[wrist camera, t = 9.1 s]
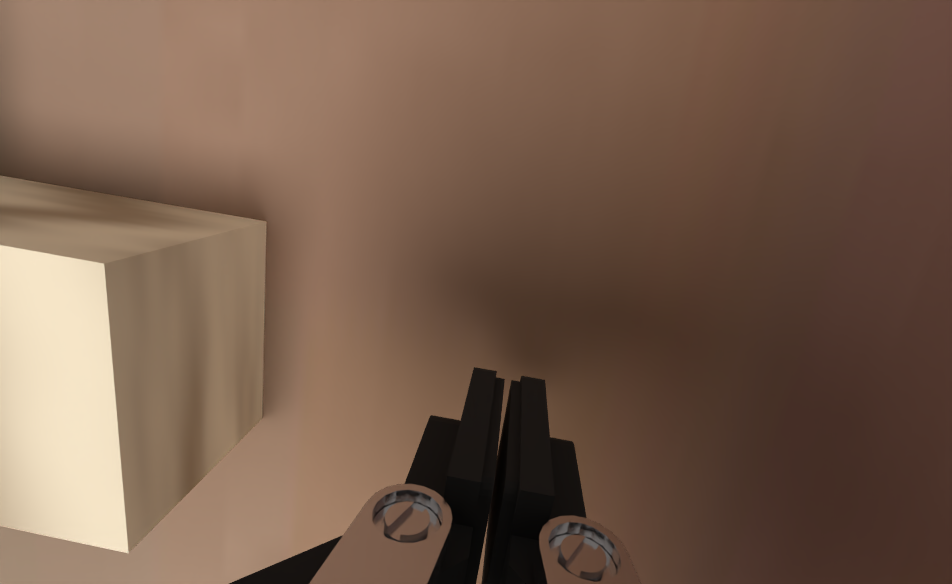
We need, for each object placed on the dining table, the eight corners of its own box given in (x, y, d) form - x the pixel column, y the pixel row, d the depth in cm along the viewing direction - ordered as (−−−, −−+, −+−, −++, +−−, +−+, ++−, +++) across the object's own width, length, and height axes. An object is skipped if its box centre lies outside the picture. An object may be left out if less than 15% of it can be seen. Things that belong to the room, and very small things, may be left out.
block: (269, 220, 15) (103, 263, 9) (264, 415, 17) (128, 552, 11) (-1, 174, 15) (-325, 186, 9) (27, 369, 17) (-224, 478, 11)
